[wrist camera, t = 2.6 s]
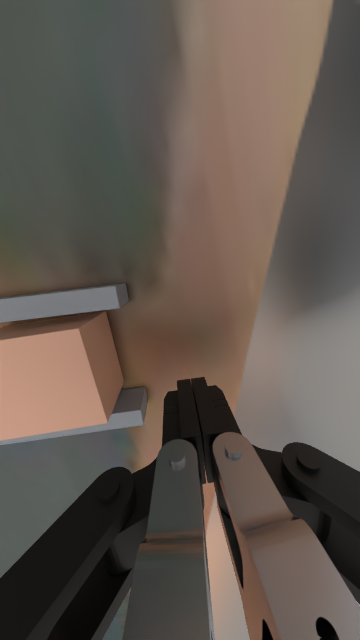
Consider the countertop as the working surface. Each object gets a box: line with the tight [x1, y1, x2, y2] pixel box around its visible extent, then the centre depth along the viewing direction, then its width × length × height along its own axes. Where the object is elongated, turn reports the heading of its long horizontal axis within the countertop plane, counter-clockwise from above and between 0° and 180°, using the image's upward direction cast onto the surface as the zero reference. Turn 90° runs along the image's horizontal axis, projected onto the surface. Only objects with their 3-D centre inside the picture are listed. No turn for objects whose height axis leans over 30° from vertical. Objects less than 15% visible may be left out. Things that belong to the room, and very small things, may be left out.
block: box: [0, 311, 124, 441], centre depth 14 cm, size 7×8×5 cm
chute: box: [0, 283, 148, 445], centre depth 15 cm, size 11×15×3 cm
